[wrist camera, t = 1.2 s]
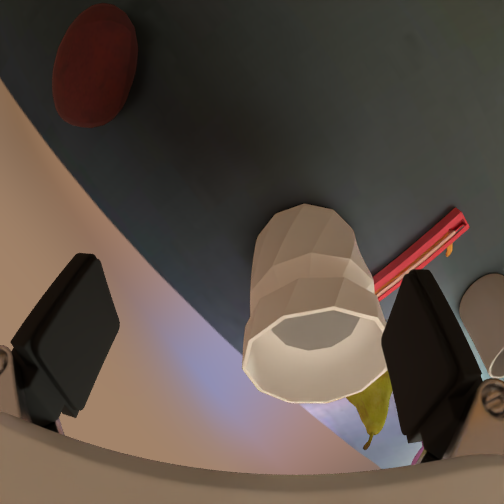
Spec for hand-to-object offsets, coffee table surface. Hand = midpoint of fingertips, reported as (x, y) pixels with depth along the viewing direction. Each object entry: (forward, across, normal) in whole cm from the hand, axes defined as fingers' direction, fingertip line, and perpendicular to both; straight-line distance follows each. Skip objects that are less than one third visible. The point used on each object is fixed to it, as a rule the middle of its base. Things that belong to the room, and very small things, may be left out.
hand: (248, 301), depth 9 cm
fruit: (+16, -12, +23) cm, 30 cm away
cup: (+16, -26, +13) cm, 34 cm away
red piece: (+16, -7, +11) cm, 20 cm away
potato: (+11, +14, -8) cm, 20 cm away
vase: (+16, -4, +8) cm, 18 cm away
